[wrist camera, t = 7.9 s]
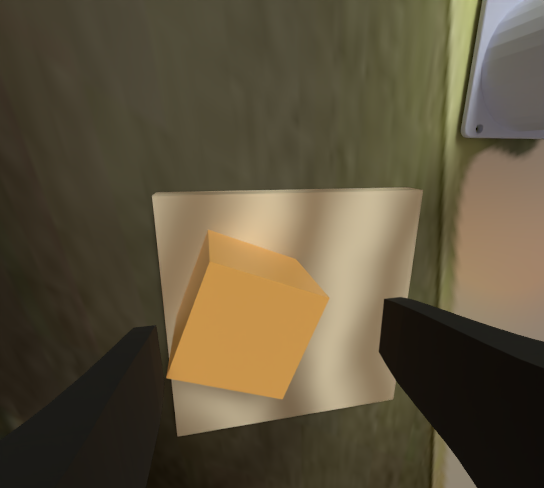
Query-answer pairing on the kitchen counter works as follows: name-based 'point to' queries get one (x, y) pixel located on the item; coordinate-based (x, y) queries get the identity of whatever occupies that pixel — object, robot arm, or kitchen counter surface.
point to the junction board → (321, 267)
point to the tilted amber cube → (244, 318)
